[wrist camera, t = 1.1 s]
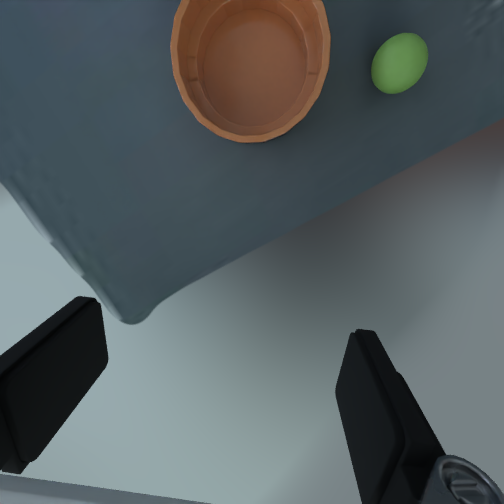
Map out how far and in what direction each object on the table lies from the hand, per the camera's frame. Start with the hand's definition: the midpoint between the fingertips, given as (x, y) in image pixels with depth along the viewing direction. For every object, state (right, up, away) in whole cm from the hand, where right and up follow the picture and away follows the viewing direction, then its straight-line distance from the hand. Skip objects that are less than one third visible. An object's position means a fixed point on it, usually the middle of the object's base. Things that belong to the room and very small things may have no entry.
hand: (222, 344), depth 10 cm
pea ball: (+15, +21, +15) cm, 29 cm away
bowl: (+1, +22, +18) cm, 28 cm away
